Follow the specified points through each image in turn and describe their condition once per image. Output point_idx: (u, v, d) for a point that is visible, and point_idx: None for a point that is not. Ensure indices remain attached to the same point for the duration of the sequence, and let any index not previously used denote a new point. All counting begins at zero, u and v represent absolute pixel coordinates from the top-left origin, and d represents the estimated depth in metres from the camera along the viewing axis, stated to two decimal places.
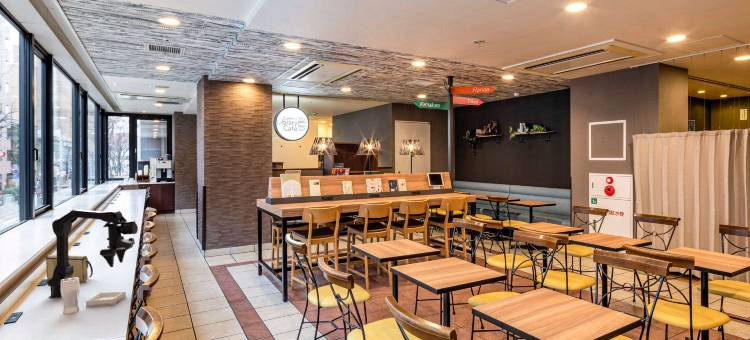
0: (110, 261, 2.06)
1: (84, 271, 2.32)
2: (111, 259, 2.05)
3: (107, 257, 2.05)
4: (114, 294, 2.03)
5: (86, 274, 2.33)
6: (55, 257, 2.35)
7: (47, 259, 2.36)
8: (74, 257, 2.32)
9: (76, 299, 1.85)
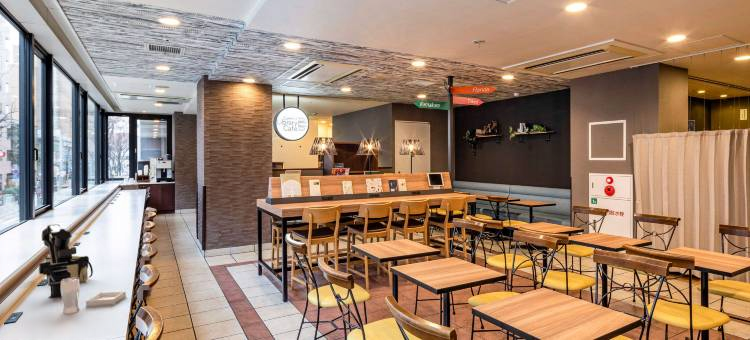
0: (50, 276, 1.88)
1: (84, 271, 2.32)
2: (50, 273, 1.88)
3: (49, 273, 1.89)
4: (114, 294, 2.03)
5: (86, 274, 2.33)
6: None
7: (47, 259, 2.36)
8: (74, 257, 2.32)
9: (76, 299, 1.85)
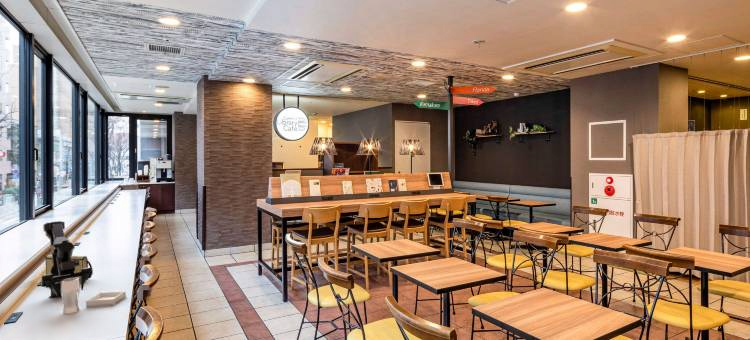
0: (53, 289, 1.83)
1: None
2: (52, 286, 1.83)
3: (51, 286, 1.84)
4: (114, 294, 2.03)
5: None
6: None
7: (46, 259, 2.35)
8: (74, 257, 2.32)
9: (76, 299, 1.85)
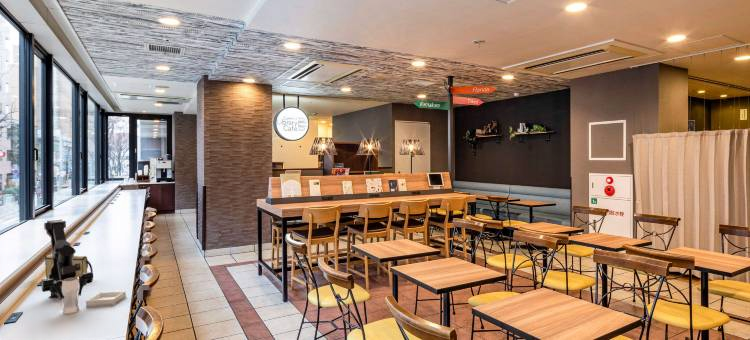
0: (57, 293, 1.82)
1: (84, 271, 2.31)
2: (56, 290, 1.82)
3: (55, 290, 1.84)
4: (114, 294, 2.03)
5: None
6: None
7: (46, 259, 2.35)
8: (74, 257, 2.32)
9: (76, 299, 1.85)
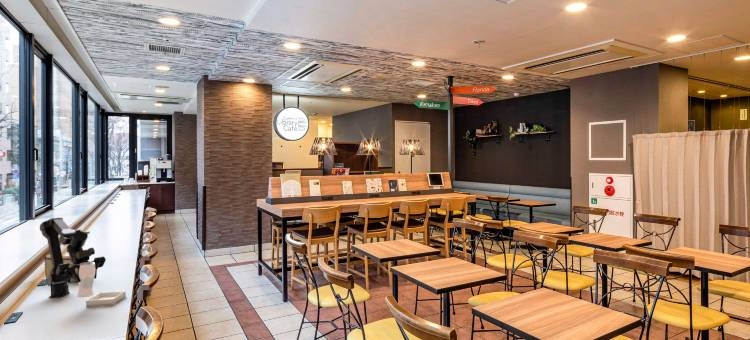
0: (74, 276, 1.86)
1: None
2: (73, 274, 1.86)
3: (71, 274, 1.87)
4: (114, 294, 2.03)
5: None
6: None
7: (46, 259, 2.35)
8: None
9: (92, 283, 1.90)
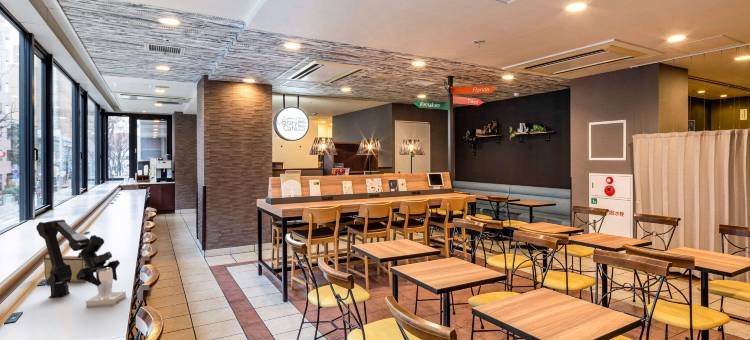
0: (93, 281, 1.92)
1: None
2: (92, 278, 1.92)
3: (88, 279, 1.93)
4: (114, 294, 2.03)
5: None
6: None
7: (45, 260, 2.35)
8: (73, 257, 2.32)
9: (111, 287, 1.98)
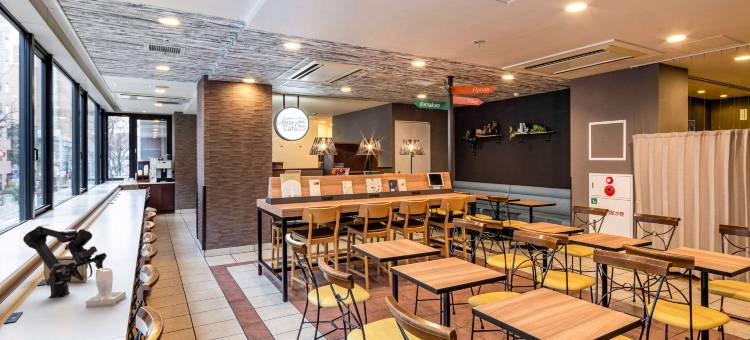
0: (77, 276, 1.96)
1: (84, 271, 2.31)
2: (76, 273, 1.96)
3: (73, 273, 1.97)
4: (114, 294, 2.03)
5: (86, 274, 2.32)
6: None
7: None
8: None
9: (111, 287, 1.98)
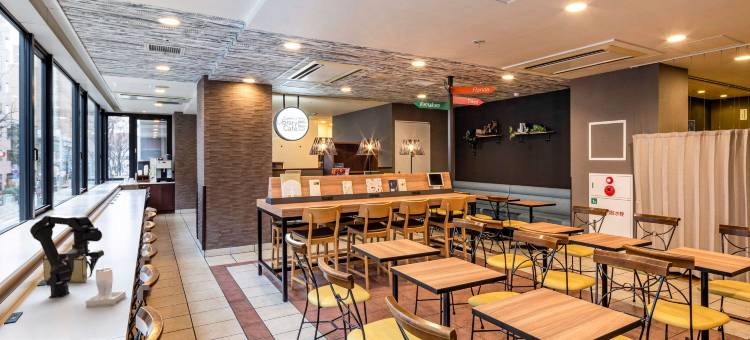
0: None
1: (84, 271, 2.31)
2: None
3: None
4: (114, 294, 2.03)
5: (86, 274, 2.32)
6: None
7: (44, 260, 2.34)
8: None
9: (111, 287, 1.98)
